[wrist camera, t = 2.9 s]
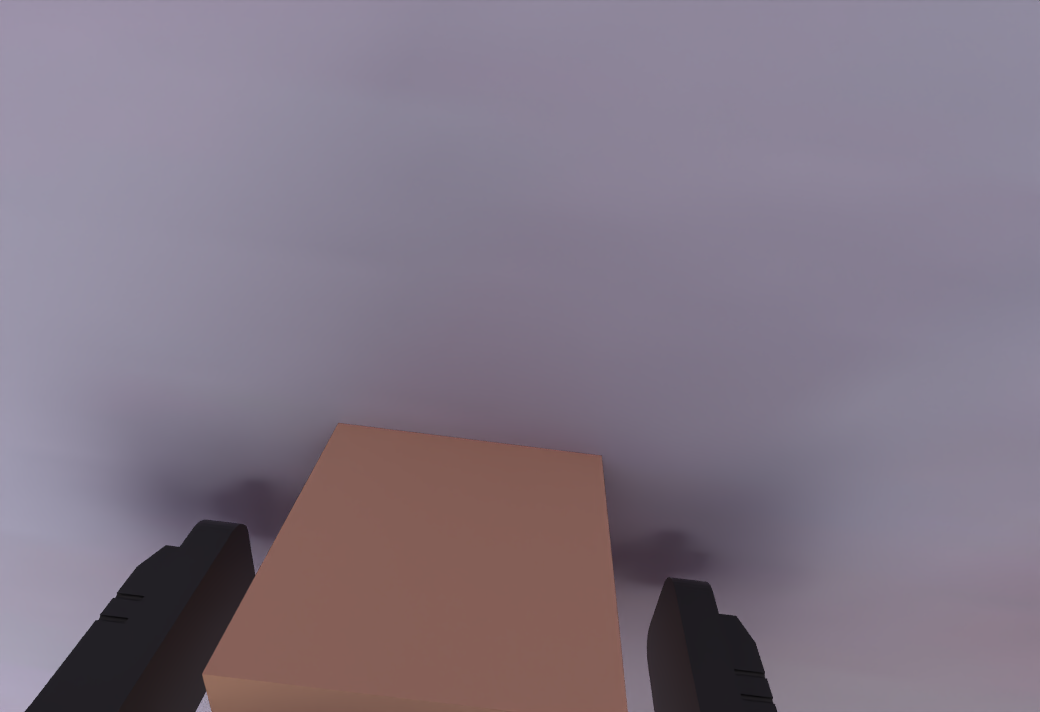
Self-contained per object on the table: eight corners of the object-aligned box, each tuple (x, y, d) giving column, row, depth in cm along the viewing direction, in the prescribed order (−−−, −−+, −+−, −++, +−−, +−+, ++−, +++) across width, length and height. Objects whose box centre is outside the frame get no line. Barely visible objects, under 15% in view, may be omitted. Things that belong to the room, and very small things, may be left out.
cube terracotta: (601, 452, 11) (628, 725, 7) (562, 621, 14) (565, 899, 9) (339, 420, 11) (201, 674, 7) (348, 595, 14) (251, 863, 9)
